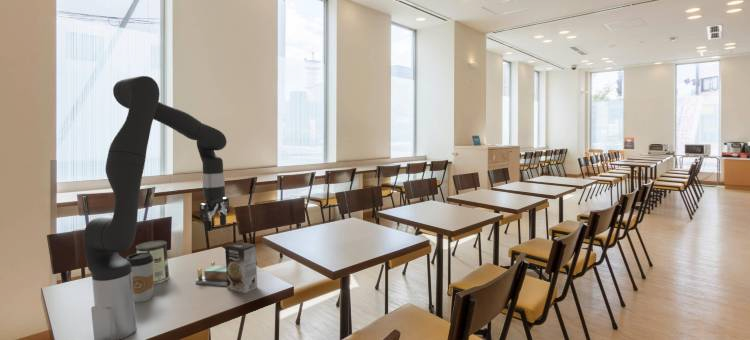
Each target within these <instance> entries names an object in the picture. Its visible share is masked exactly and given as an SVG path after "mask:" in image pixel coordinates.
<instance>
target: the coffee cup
mask: <svg viewBox="0 0 750 340" xmlns="http://www.w3.org/2000/svg"><path fill="white" fill-rule="evenodd" d="M125 259H126V260H128V261H129V262H130V263H131V268H132V280H133V293H134V303H141V302H146V301H148V299H149V300H151V299H152V297H153V295H154V284H153V257H152V256H151V253H146V252H144V253H137V252H135V253H133V254H129V255H127V256H126V257H125Z"/></svg>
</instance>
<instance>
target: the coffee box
mask: <svg viewBox="0 0 750 340" xmlns="http://www.w3.org/2000/svg"><path fill="white" fill-rule="evenodd" d="M224 249H225V250H224V251H225V252H224V253H225V266H226V271H227V288H226V289H227V290H231V291H234V292H235V291H236V292H239V293H242V294H246V293H249V292H251V291H253V290H254V289H255V290H256V288H258V273H257V272H258V270H257V266H258V265H257V244H254V243H249V242H242V241H236V242H233V243H229V244H226V245H225V246H224Z"/></svg>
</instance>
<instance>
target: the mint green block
mask: <svg viewBox="0 0 750 340" xmlns="http://www.w3.org/2000/svg"><path fill="white" fill-rule="evenodd" d="M204 276H205V279H218V280H227V271H226V265H215V266H209V267H207V268H206V269H205V270H204Z"/></svg>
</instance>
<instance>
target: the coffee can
mask: <svg viewBox="0 0 750 340" xmlns="http://www.w3.org/2000/svg"><path fill="white" fill-rule="evenodd" d="M167 244H168V242H167V241H166V240H150V241H145V242H142V243H138V244H137V245H136V246H135V249H136V253H144V252H146V253H151V256H152V257H153V285H157V284H160V283H163V282H165V281H167V280H170V272H169V261H168V260H169V259H168V247H167Z"/></svg>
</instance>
